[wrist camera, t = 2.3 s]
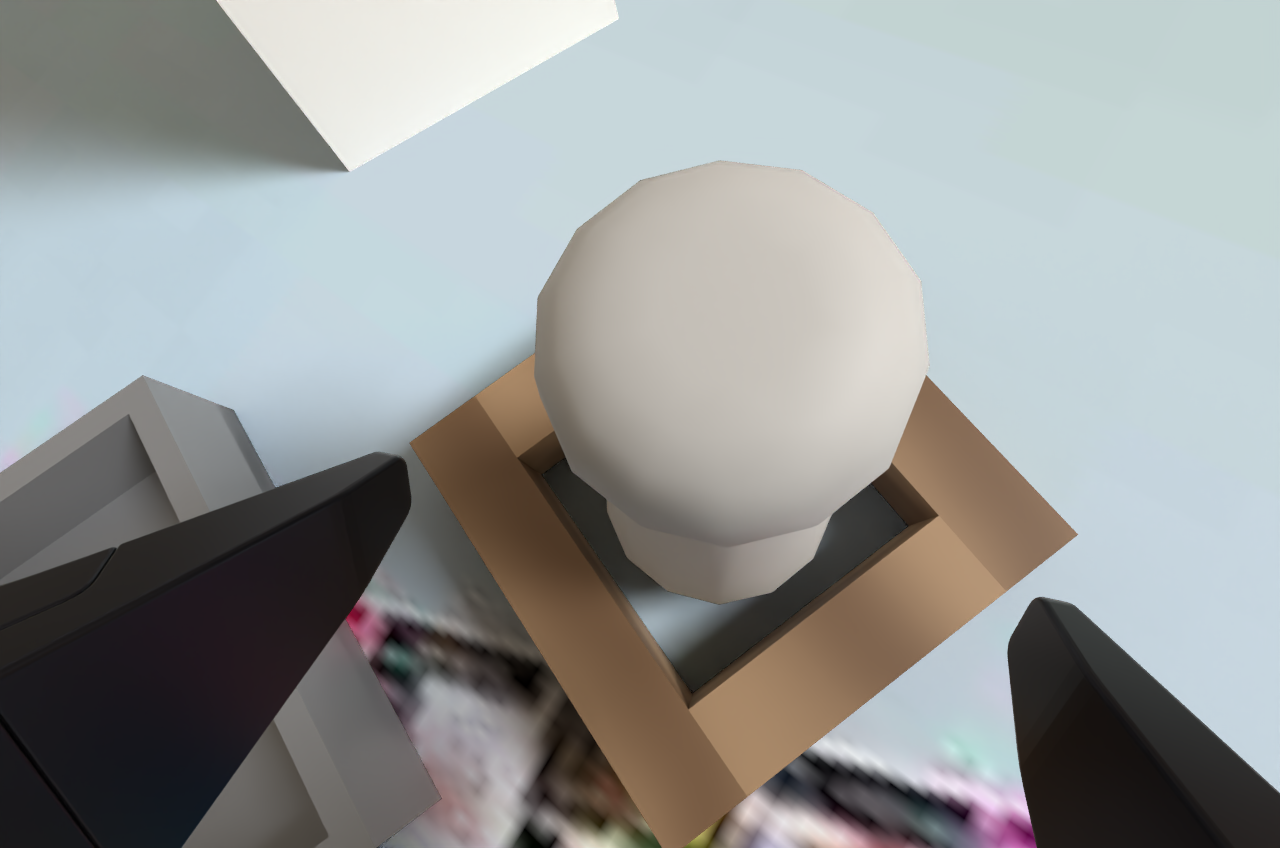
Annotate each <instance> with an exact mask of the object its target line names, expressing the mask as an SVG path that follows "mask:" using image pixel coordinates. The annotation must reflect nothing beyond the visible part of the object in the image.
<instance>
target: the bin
mask: <svg viewBox="0 0 1280 848" xmlns="http://www.w3.org/2000/svg"><path fill="white" fill-rule="evenodd" d="M274 488H275V486H274V485H273V483H272V481H271V479H270V477H269V475H268V473H267V471H266V470H265V468H264V466H263V464H262V462H261V460H260V458H259V457H258V455H257V453H256V451H255V449H254V447H253V445H252V443H251V442H250V440H249V438H248V436H247V434H246V432H245V430H244V428H243V427H242V425H241V423H240V421H239V419H238V417H237V415H236V414H235V412H234V410H232V409H229V408H227V407H224V406H221V405H219V404H216V403H214V402H211V401H208V400H206V399H203V398H201V397H198V396H195V395H193V394H190V393H188V392H185V391H182V390H180V389H177V388H175V387H172V386H169V385H167V384H164V383H162V382H159V381H156V380H154V379H151V378H148V377H146V376H143V375H142V376H141V377H140V378H138V379H137V380H135V381H134V382H132V383H131V384H129V385H128V386H126V387H125V388H124V389H122V390H121V391H119V392H118V393H116V394H115V395H113V396H112V397H110V398H109V399H107V400H106V401H105V402H103V403H102V404H100V405H99V406H97V407H96V408H94V409H93V410H91V411H90V412H88V413H87V414H86V415H84V416H83V417H81V418H80V419H78V420H77V421H75V422H74V423H72V424H71V425H70V426H68V427H67V428H65V429H64V430H62V431H61V432H59V433H58V434H56V435H55V436H53V437H52V438H51V439H49V440H48V441H46V442H45V443H43V444H42V445H40V446H39V447H37V448H36V449H34V450H33V451H32V452H30V453H29V454H27V455H26V456H24V457H23V458H21V459H20V460H18V461H17V462H16V463H14V464H13V465H11V466H10V467H8V468H7V469H5V470H4V471H2V472H1V473H0V585H3V584H6V583H9V582H12V581H16V580H19V579H22V578H25V577H28V576H31V575H34V574H37V573H40V572H43V571H45V570H48V569H51V568H54V567H57V566H60V565H63V564H66V563H69V562H71V561H74V560H77V559H80V558H83V557H86V556H88V555H91V554H94V553H97V552H99V551H102V550H105V549H107V548H110V547H116V548H118V546H119V545H120V544H122V543H125V542H127V541H130V540H133V539H136V538H138V537H141V536H144V535H147V534H149V533H152V532H155V531H158V530H161V529H163V528H166V527H169V526H172V525H174V524H177V523H180V522H183V521H185V520H188V519H191V518H194V517H197V516H199V515H202V514H205V513H208V512H210V511H213V510H216V509H219V508H222V507H224V506H227V505H230V504H233V503H235V502H238V501H241V500H244V499H246V498H249V497H252V496H255V495H258V494H260V493H263V492H266V491H269V490H271V489H274ZM440 799H442V798H441V797H440V795H439V793H438V791H437V789H436V787H435V785H434V783H433V782H432V780H431V778H430V776H429V774H428V772H427V770H426V769H425V767H424V765H423V763H422V761H421V759H420V757H419V755H418V754H417V752H416V750H415V748H414V746H413V744H412V742H411V741H410V739H409V737H408V735H407V733H406V731H405V729H404V727H403V726H402V724H401V722H400V720H399V718H398V716H397V714H396V712H395V711H394V709H393V707H392V705H391V703H390V701H389V699H388V698H387V696H386V694H385V692H384V690H383V688H382V686H381V684H380V683H379V681H378V679H377V677H376V675H375V673H374V671H373V670H372V668H371V666H370V664H369V662H368V660H367V658H366V656H365V655H364V653H363V651H362V649H361V647H360V645H359V643H358V641H357V640H356V638H355V636H354V634H353V632H352V630H351V628H350V627H349V625H348V623H347V621H346V619H345V620H344V621H343V623H342V624H341V625H340V627H339V628H338V630H337V631H336V632H335V634H334V635H333V637H332V638H331V639H330V641H329V642H328V644H327V645H326V646H325V648H324V649H323V651H322V652H321V653H320V655H319V656H318V658H317V659H316V660H315V662H314V663H313V665H312V666H311V667H310V669H309V670H308V672H307V673H306V674H305V676H304V677H303V679H302V680H301V681H300V683H299V684H298V686H297V687H296V688H295V690H294V691H293V693H292V694H291V695H290V697H289V698H288V700H287V701H286V702H285V704H284V705H283V707H282V708H281V709H280V711H279V712H278V714H277V715H276V716H275V718H274V719H273V721H272V722H271V723H270V725H269V726H268V728H267V729H266V730H265V732H264V733H263V735H262V736H261V737H260V739H259V740H258V742H257V743H256V744H255V746H254V747H253V749H252V750H251V751H250V753H249V754H248V756H247V757H246V758H245V760H244V761H243V763H242V764H241V765H240V767H239V768H238V770H237V771H236V772H235V774H234V775H233V777H232V778H231V779H230V781H229V782H228V784H227V785H226V786H225V788H224V789H223V791H222V792H221V793H220V795H219V796H218V798H217V799H216V800H215V802H214V803H213V805H212V806H211V807H210V809H209V810H208V812H207V813H206V814H205V816H204V817H203V819H202V820H201V821H200V823H199V824H198V826H197V827H196V828H195V830H194V831H193V833H192V834H191V835H190V837H189V838H188V840H187V841H186V842H185V844H184V845H183V847H182V848H377V847H379V846H380V845H381V844H383V843H384V842H385V841H387V840H388V839H389V838H391V837H392V836H393V835H395V834H396V833H397V832H398V831H400V830H401V829H402V828H404V827H405V826H406V825H408V824H409V823H410V822H412V821H413V820H414V819H415V818H417V817H418V816H419V815H421V814H422V813H423V812H425V811H426V810H427V809H429V808H430V807H431V806H433V805H434V804H435V803H436V802H438V801H439V800H440Z"/></svg>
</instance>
